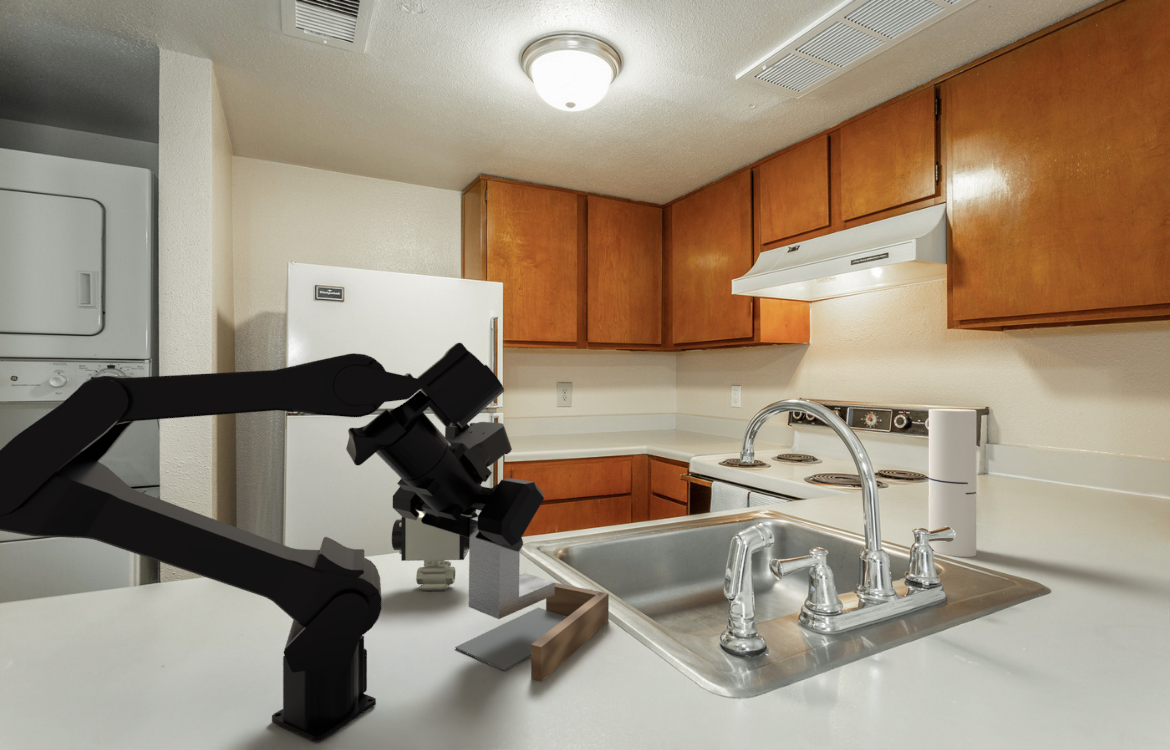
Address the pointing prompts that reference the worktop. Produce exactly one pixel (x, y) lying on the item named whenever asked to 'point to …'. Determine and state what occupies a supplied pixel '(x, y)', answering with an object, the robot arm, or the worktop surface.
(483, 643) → the mat
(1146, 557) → the worktop surface
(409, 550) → the pneumatic valve
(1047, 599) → the worktop surface
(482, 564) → the bracket
